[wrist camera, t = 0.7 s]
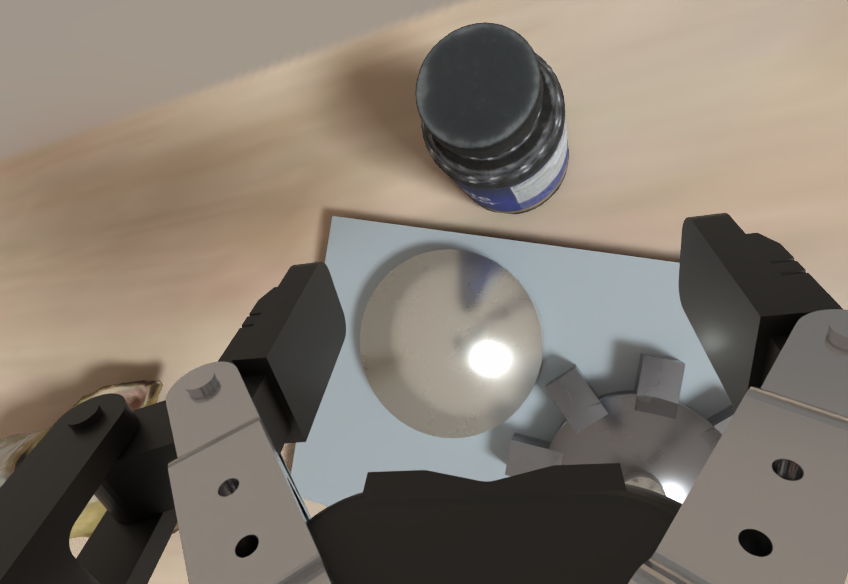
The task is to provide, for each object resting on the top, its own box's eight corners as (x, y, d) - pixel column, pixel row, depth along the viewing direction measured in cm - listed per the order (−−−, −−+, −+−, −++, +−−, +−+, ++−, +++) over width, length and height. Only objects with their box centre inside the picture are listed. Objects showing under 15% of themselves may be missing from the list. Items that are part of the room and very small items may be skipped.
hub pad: (559, 265, 27) (557, 264, 26) (526, 453, 27) (524, 459, 26) (383, 240, 30) (375, 237, 29) (355, 409, 30) (346, 413, 29)
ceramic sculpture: (-115, 439, 32) (80, 384, 28) (25, 412, 40) (188, 366, 37) (-86, 618, 31) (119, 581, 27) (51, 551, 39) (220, 517, 36)
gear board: (782, 279, 25) (794, 278, 24) (721, 617, 26) (728, 635, 24) (343, 219, 33) (332, 215, 31) (300, 485, 33) (287, 493, 32)
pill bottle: (440, 165, 31) (365, 92, 20) (516, 86, 30) (478, -35, 19) (511, 239, 29) (469, 202, 19) (594, 160, 28) (599, 74, 18)
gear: (808, 384, 24) (835, 393, 21) (758, 651, 24) (779, 693, 22) (531, 332, 28) (526, 335, 25) (492, 564, 28) (482, 591, 25)
